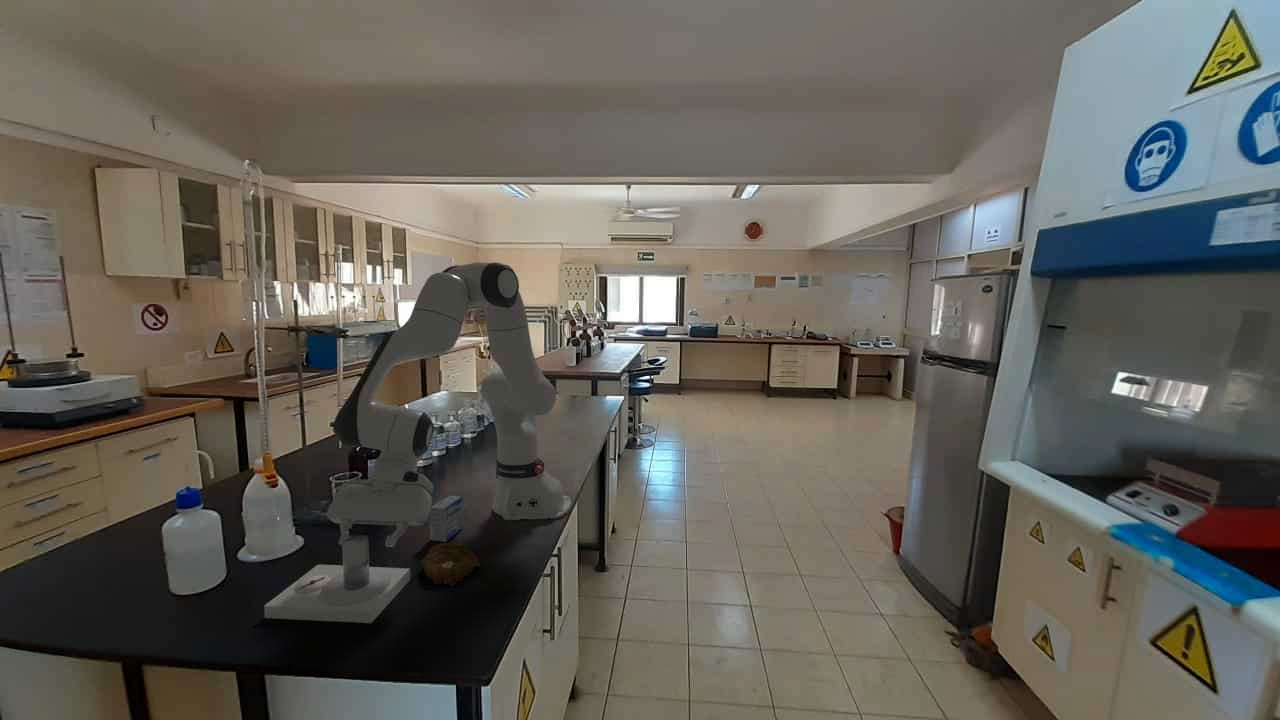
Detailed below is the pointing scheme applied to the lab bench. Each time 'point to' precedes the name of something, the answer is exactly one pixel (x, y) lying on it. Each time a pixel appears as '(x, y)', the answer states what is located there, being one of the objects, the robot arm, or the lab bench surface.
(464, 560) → the decorative rock
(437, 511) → the medicine box
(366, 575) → the cylinder
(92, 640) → the lab bench surface
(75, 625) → the lab bench surface
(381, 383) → the robot arm
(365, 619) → the white shallow tray
